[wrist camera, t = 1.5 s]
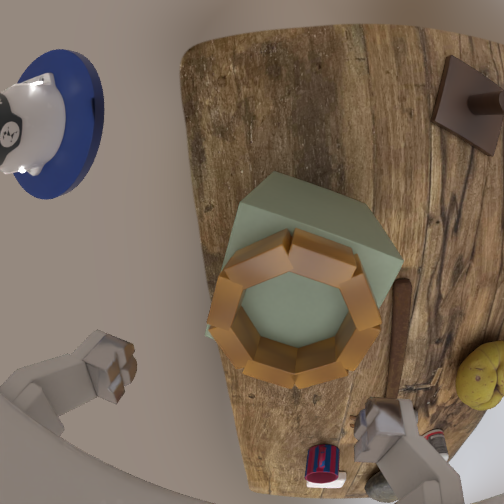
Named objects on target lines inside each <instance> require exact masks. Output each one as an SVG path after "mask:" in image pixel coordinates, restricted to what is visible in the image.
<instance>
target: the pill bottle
mask: <svg viewBox="0 0 504 504" xmlns="http://www.w3.org/2000/svg"><path fill="white" fill-rule="evenodd" d="M423 437H424V438H425V439H426V440H427V441H428V442H429V443H430V444H431V445H432V446H433V447H434V448H435V450H436V451H437V452H438V453H439V454H440V455H441V456H442V457H443V458H444V459H445V460H446V461H447V460H448V457H449V456H448V451H447V447H446V442H445V438H444V434H443V431H442V430H440V429H435V430H432V431H429V432H427V433H426V434H424V435H423Z"/></svg>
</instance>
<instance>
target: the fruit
mask: <svg viewBox="0 0 504 504" xmlns="http://www.w3.org/2000/svg"><path fill="white" fill-rule="evenodd" d="M456 392H457V394H458V397H459V398H460V400H461V401H462V402H463V403H465V404H467V405H468V406H470V407H471V408H473V409H476V410H488V409H491V408H493V407H495V406H496V405H497V404H498V403H499V402H500V401H501V399H502V397H503V396H504V341H494V342H488V343H485V344H482V345H481V346H479V347H478V348H477V349H475V350H474V351H473V352H472V353H471V354H470V355H469V356H468V357H467V358H466V359H465V360H464V361H463V362H462V364H461V365H460V367H459V369H458V372H457V376H456Z"/></svg>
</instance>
